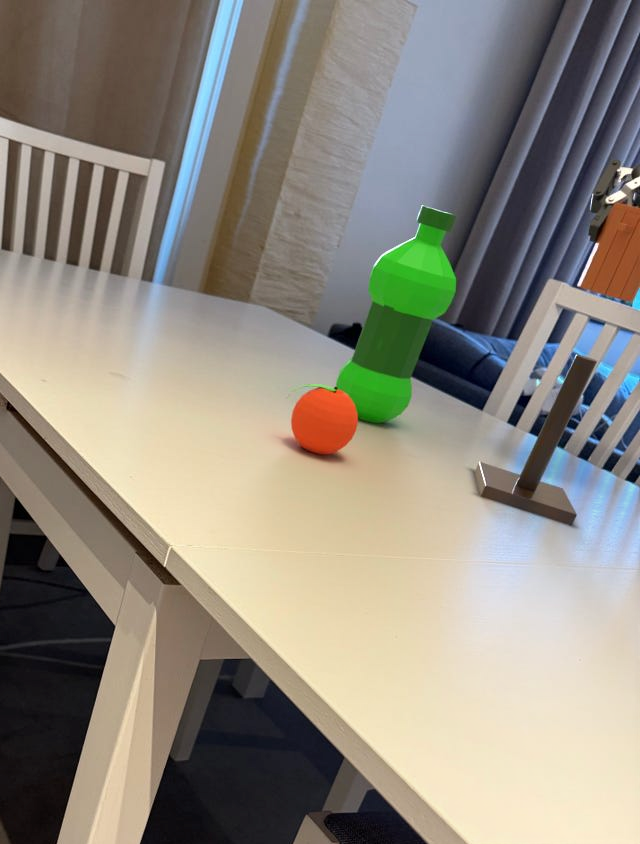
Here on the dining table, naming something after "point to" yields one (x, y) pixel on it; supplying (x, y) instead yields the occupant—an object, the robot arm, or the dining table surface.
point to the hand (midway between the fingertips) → (623, 244)
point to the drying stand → (540, 457)
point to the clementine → (324, 419)
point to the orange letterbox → (616, 256)
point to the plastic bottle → (399, 319)
